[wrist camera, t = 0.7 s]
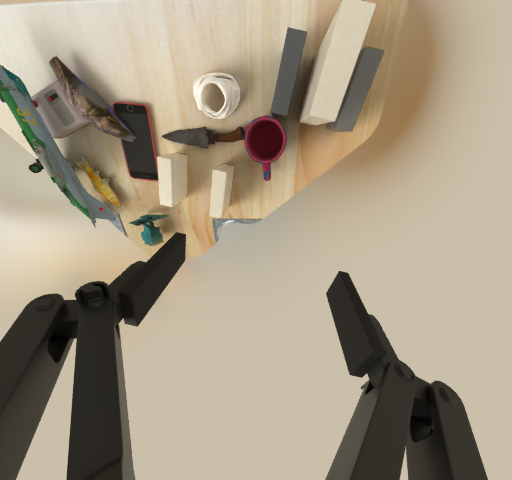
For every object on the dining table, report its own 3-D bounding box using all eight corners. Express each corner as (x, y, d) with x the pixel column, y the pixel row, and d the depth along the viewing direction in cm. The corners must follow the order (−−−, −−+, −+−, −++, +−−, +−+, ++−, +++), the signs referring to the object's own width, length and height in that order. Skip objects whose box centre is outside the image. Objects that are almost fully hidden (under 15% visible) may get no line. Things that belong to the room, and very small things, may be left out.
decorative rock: (135, 135, 36) (119, 153, 37) (141, 136, 39) (125, 153, 39) (50, 49, 30) (33, 73, 31) (61, 56, 32) (45, 78, 33)
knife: (245, 125, 34) (240, 155, 35) (248, 130, 36) (242, 157, 37) (160, 108, 35) (157, 137, 36) (167, 113, 37) (164, 140, 38)
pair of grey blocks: (272, 115, 34) (270, 112, 28) (286, 48, 29) (287, 26, 23) (339, 131, 34) (352, 131, 28) (363, 67, 30) (384, 50, 24)
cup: (287, 119, 34) (288, 117, 28) (280, 176, 39) (281, 184, 33) (250, 117, 34) (244, 114, 29) (248, 174, 40) (243, 181, 34)
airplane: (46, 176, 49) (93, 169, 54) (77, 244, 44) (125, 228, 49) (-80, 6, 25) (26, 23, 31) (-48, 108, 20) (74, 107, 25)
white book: (297, 121, 34) (309, 115, 21) (315, 55, 30) (344, -5, 17) (313, 125, 34) (335, 121, 21) (334, 60, 30) (377, 3, 17)
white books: (176, 194, 43) (159, 204, 37) (175, 152, 39) (156, 156, 33) (229, 206, 44) (221, 218, 37) (234, 166, 39) (226, 172, 33)
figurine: (119, 222, 48) (134, 248, 50) (107, 227, 39) (125, 259, 42) (168, 207, 51) (179, 232, 54) (166, 209, 43) (179, 239, 45)
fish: (123, 203, 43) (110, 212, 45) (130, 200, 45) (117, 210, 47) (79, 151, 39) (67, 165, 41) (89, 151, 41) (77, 164, 43)
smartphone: (147, 104, 35) (160, 181, 42) (149, 104, 35) (161, 181, 42) (110, 100, 35) (129, 178, 42) (113, 101, 35) (131, 177, 42)
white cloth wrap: (239, 72, 32) (236, 59, 28) (243, 118, 35) (240, 113, 30) (194, 77, 33) (183, 64, 28) (201, 122, 35) (192, 117, 31)
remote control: (101, 116, 37) (88, 115, 34) (48, 145, 41) (32, 146, 38) (76, 75, 34) (59, 70, 31) (21, 110, 38) (2, 108, 35)
